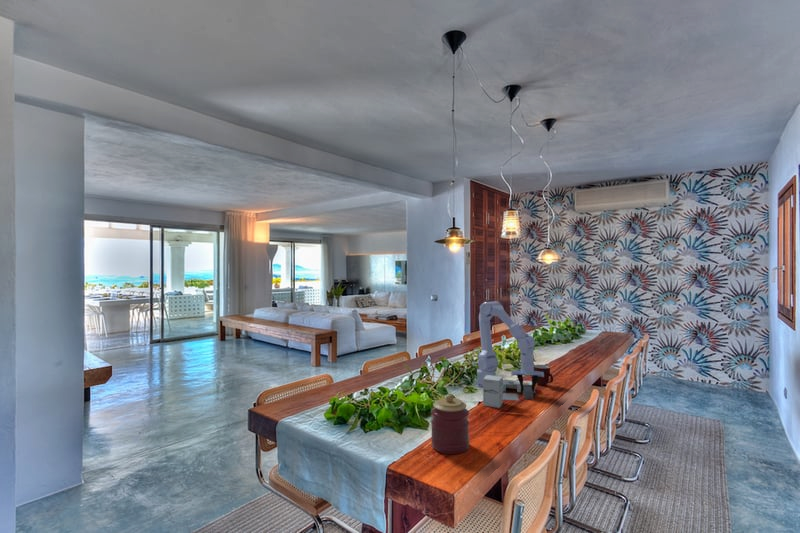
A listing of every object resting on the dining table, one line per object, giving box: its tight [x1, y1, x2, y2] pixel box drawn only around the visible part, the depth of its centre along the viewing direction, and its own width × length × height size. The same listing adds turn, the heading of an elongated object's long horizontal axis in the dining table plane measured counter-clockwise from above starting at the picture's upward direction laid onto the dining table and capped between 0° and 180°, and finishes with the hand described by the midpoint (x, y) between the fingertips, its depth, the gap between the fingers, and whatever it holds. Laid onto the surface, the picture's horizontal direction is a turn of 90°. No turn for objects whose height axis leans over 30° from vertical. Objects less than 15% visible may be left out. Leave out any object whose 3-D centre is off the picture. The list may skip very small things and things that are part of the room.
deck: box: [503, 392, 520, 402], centre depth 181 cm, size 8×10×1 cm
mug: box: [534, 364, 554, 387], centre depth 198 cm, size 10×8×10 cm
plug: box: [522, 386, 534, 400], centre depth 181 cm, size 4×8×4 cm, turn 167°
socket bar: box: [503, 379, 536, 394], centre depth 190 cm, size 15×7×5 cm, turn 77°
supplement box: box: [482, 375, 504, 409], centre depth 171 cm, size 7×7×13 cm
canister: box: [430, 393, 470, 455], centre depth 132 cm, size 13×13×18 cm
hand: (527, 391), depth 181 cm, fingers closed on plug, 4 cm apart
